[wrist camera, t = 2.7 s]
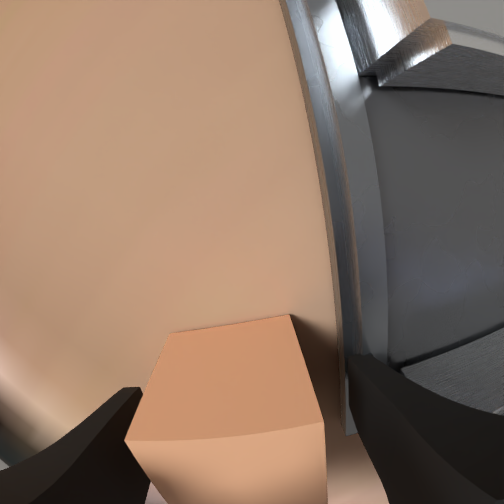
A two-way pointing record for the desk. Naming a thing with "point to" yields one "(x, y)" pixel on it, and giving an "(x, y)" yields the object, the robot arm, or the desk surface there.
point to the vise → (407, 217)
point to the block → (232, 419)
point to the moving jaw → (428, 42)
